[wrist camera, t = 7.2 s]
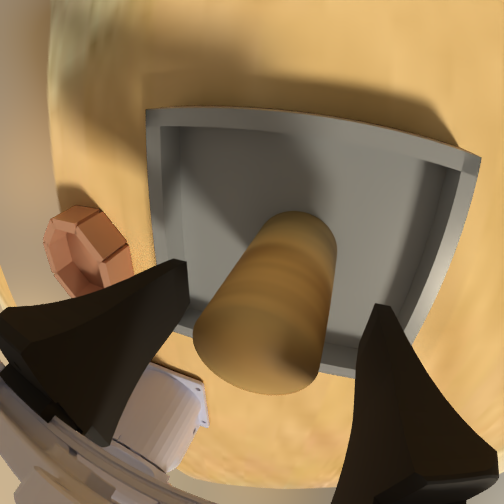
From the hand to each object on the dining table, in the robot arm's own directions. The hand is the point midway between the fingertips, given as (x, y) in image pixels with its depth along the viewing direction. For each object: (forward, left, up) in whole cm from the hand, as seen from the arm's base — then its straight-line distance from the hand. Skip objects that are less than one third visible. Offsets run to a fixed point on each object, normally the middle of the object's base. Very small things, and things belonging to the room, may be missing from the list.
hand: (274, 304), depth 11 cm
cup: (-4, +15, -5) cm, 16 cm away
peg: (0, 0, -4) cm, 4 cm away
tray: (0, 0, -5) cm, 5 cm away
